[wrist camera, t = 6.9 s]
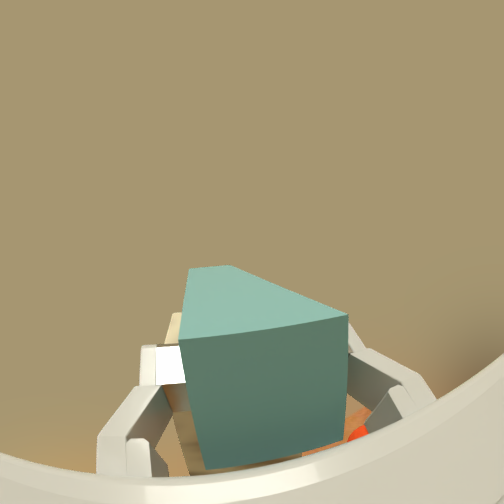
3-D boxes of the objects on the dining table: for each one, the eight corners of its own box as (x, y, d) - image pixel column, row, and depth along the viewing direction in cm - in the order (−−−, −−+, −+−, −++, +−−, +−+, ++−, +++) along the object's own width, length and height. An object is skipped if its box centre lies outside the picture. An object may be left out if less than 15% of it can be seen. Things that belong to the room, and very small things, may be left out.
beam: (206, 470, 6) (178, 339, 6) (193, 308, 27) (189, 268, 27) (342, 439, 7) (348, 314, 7) (233, 304, 28) (229, 265, 28)
